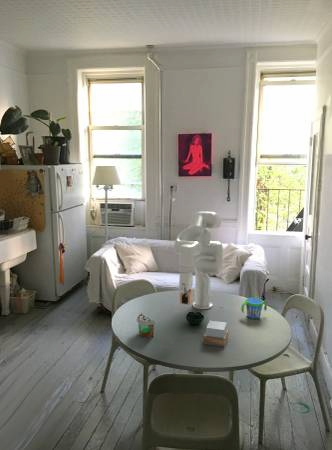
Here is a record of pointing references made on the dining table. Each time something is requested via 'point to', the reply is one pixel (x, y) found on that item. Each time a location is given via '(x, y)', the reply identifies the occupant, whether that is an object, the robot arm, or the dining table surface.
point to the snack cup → (254, 307)
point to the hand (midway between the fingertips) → (186, 300)
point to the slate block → (216, 329)
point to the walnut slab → (215, 340)
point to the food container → (145, 326)
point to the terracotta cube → (190, 297)
